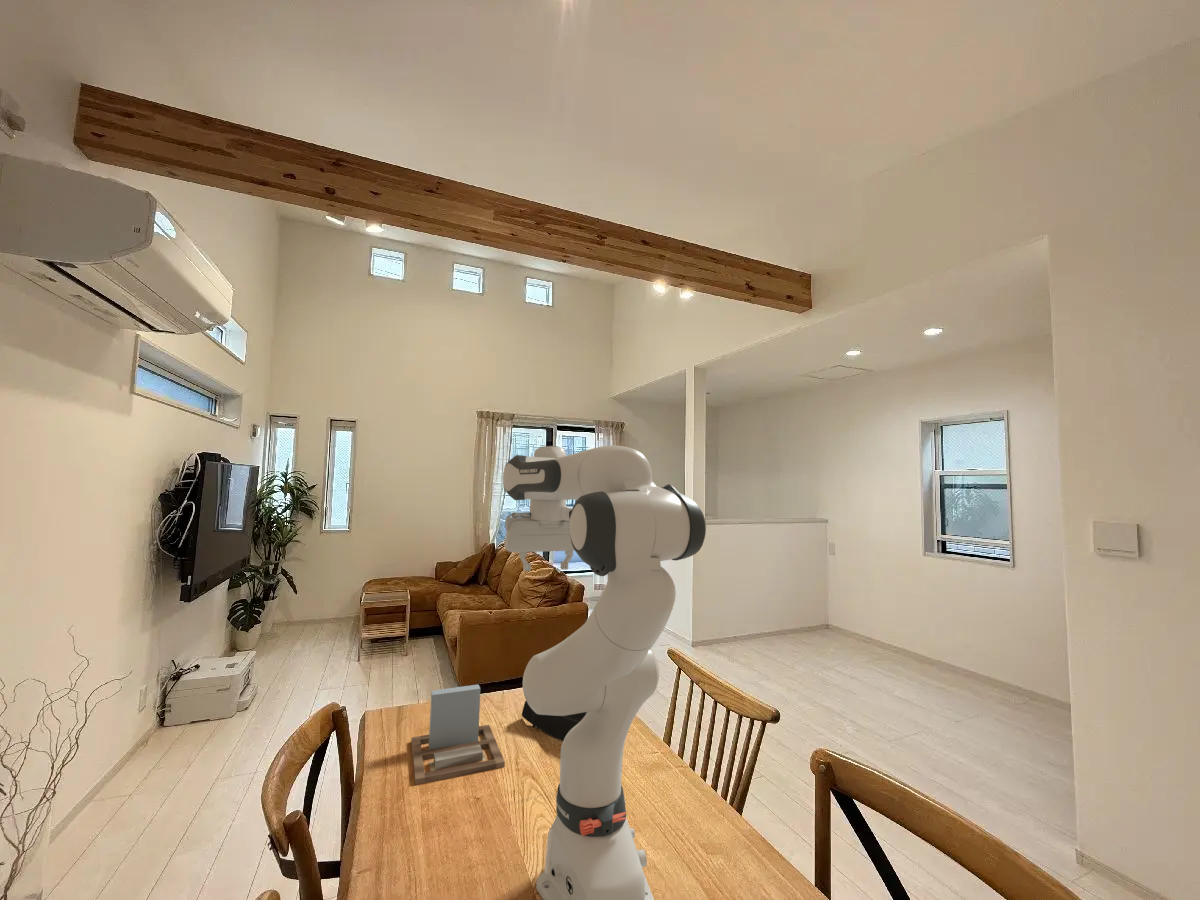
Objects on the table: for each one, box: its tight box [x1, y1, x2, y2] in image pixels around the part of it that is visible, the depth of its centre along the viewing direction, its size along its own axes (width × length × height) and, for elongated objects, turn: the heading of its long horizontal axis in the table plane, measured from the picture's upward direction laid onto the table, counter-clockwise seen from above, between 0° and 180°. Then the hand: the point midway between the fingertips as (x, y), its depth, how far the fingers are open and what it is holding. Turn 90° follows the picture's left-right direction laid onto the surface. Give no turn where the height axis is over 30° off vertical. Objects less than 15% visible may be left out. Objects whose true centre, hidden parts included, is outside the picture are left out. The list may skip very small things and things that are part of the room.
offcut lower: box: [428, 751, 487, 772], centre depth 118 cm, size 4×13×2 cm, turn 115°
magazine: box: [521, 700, 587, 742], centre depth 132 cm, size 17×3×30 cm
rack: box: [410, 724, 506, 786], centre depth 121 cm, size 20×20×2 cm
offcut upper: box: [433, 745, 484, 771], centre depth 118 cm, size 4×11×2 cm, turn 115°
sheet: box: [428, 684, 481, 750], centre depth 126 cm, size 3×12×15 cm, turn 114°
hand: (545, 570), depth 118 cm, fingers open, 8 cm apart
